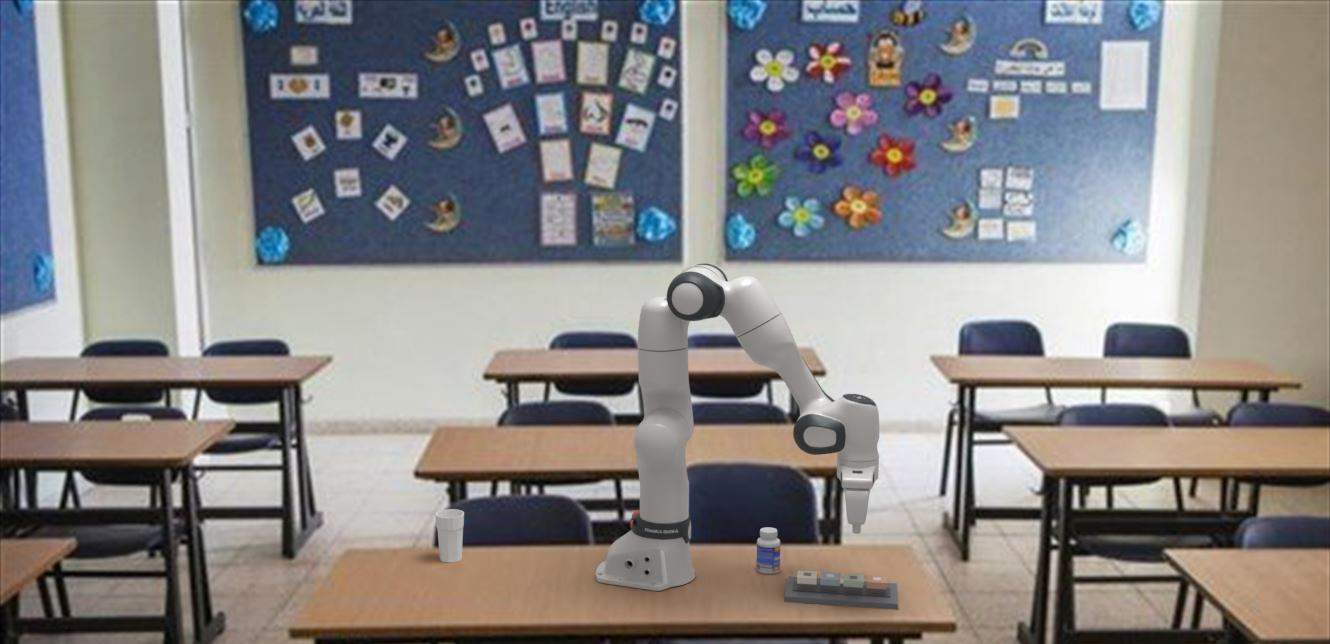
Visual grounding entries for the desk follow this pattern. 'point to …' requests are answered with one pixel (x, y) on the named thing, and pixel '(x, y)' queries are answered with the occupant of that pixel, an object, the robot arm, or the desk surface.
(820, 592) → the keypad base
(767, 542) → the pill bottle
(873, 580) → the terracotta key
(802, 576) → the cream key
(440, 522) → the cup
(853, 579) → the sage key
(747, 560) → the desk surface
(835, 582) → the slate key
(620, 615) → the desk surface
